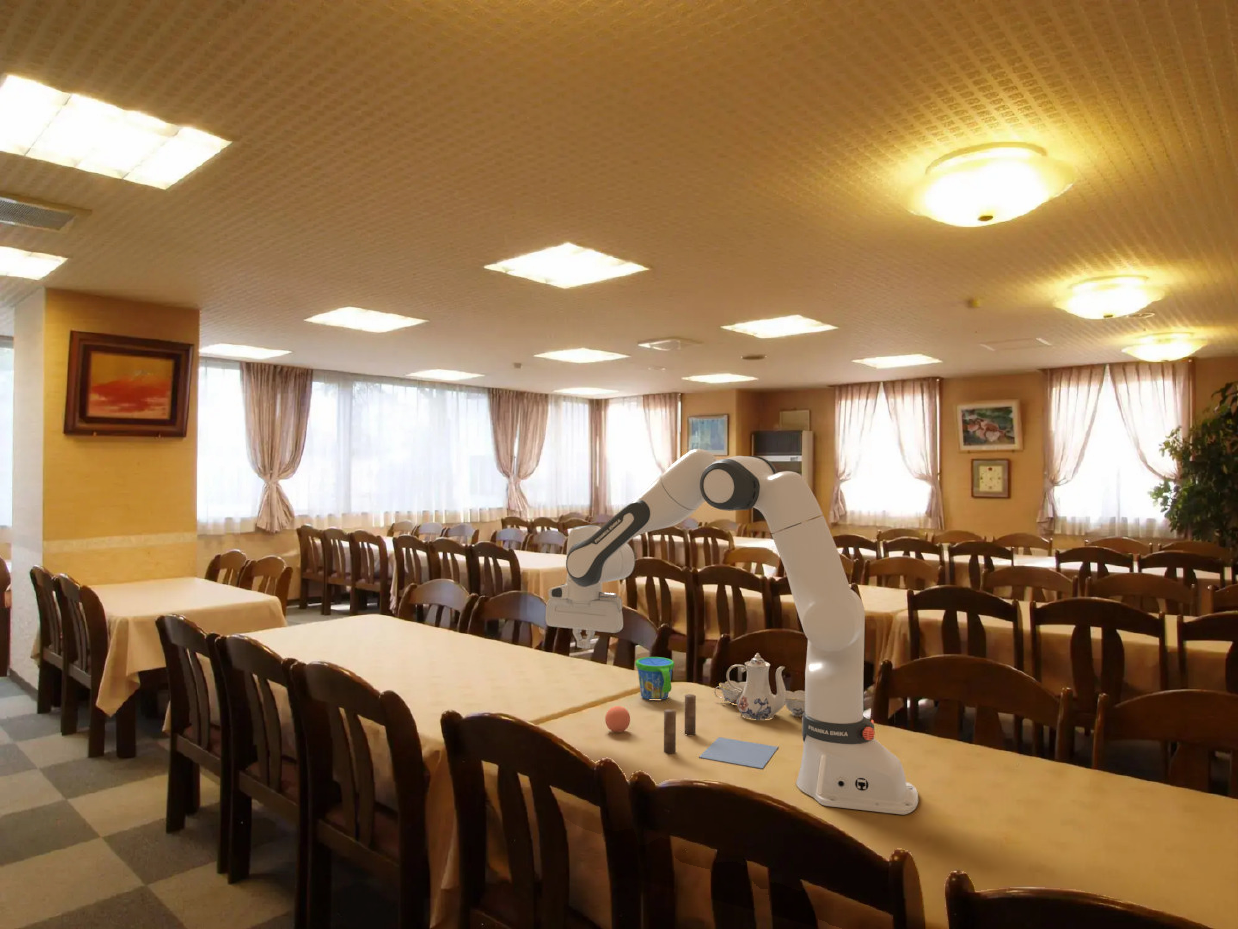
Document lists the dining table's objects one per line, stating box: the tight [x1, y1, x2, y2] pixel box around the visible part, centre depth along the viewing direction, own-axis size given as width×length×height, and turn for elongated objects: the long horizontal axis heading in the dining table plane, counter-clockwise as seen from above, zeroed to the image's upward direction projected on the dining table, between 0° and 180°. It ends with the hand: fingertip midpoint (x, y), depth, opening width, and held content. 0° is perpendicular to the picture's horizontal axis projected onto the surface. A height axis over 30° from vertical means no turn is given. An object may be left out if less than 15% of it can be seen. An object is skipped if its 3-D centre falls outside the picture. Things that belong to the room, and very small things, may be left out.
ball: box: [604, 705, 631, 733], centre depth 176 cm, size 6×6×6 cm
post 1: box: [663, 708, 677, 755], centre depth 163 cm, size 3×3×9 cm
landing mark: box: [698, 736, 779, 770], centre depth 163 cm, size 14×14×1 cm
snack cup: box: [635, 656, 675, 700], centre depth 204 cm, size 16×10×10 cm
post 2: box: [684, 693, 697, 736], centre depth 175 cm, size 3×3×9 cm
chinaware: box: [714, 652, 805, 720], centre depth 192 cm, size 28×17×17 cm, turn 65°
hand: (583, 647), depth 180 cm, fingers closed
